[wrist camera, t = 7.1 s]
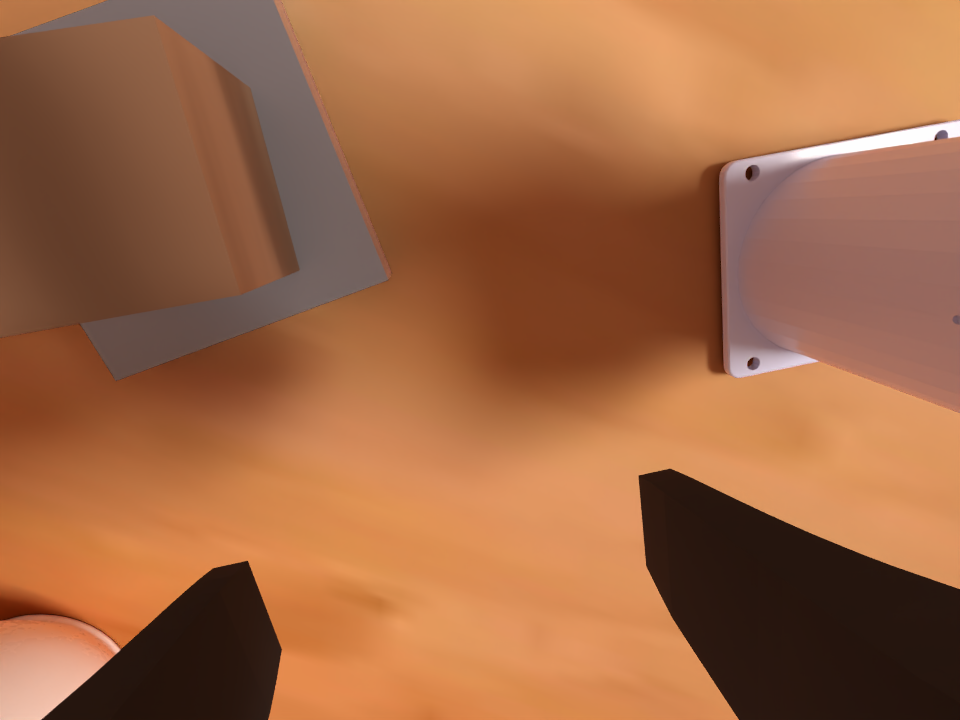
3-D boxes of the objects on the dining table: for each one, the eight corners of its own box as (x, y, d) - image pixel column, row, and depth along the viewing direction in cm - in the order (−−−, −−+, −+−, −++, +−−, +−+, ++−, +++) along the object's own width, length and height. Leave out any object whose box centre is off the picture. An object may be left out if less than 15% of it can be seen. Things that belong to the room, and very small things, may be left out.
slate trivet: (279, -10, 15) (252, -53, 13) (393, 271, 18) (388, 279, 15) (-1, 92, 15) (-81, 69, 12) (157, 358, 18) (115, 380, 15)
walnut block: (250, 87, 13) (153, 15, 9) (299, 270, 15) (241, 294, 10) (61, 117, 13) (-148, 58, 8) (131, 300, 15) (-13, 339, 10)
